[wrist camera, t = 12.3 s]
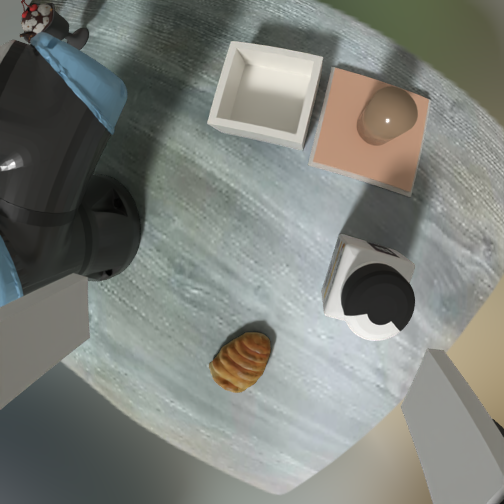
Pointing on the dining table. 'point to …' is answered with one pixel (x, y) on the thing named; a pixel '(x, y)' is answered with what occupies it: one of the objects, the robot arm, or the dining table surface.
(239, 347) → the pastry
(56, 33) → the sundae
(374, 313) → the container
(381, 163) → the lid
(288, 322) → the dining table surface
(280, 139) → the white open box
